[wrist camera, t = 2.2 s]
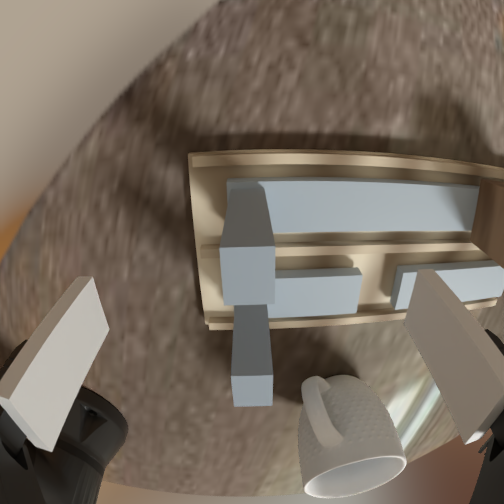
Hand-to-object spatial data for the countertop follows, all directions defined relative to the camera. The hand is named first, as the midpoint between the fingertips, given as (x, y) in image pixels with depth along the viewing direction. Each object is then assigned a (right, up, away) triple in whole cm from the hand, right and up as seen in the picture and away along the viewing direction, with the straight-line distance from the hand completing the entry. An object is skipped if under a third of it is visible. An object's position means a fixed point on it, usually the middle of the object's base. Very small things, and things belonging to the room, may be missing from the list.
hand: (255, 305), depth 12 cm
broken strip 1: (+4, -1, +16) cm, 16 cm away
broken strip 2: (+21, -1, +16) cm, 26 cm away
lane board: (+12, +3, +15) cm, 20 cm away
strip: (+13, +6, +13) cm, 19 cm away
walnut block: (+23, +6, +11) cm, 26 cm away
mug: (+10, -14, +24) cm, 30 cm away
